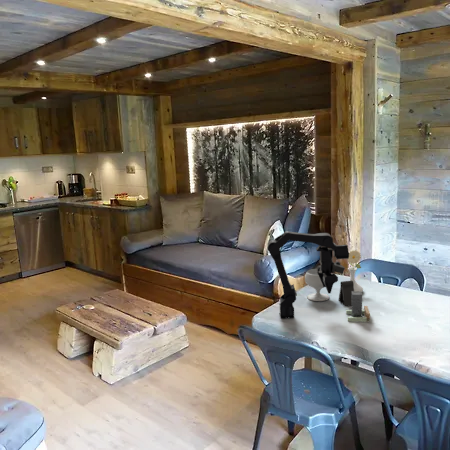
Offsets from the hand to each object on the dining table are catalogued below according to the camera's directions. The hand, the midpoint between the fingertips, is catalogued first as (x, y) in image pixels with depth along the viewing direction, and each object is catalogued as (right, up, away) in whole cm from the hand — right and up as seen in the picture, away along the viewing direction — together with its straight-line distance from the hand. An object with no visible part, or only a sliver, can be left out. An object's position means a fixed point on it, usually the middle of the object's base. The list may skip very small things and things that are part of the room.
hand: (327, 290), depth 212 cm
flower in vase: (+22, -6, +31) cm, 39 cm away
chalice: (+1, -8, +26) cm, 27 cm away
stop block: (+14, -13, -2) cm, 19 cm away
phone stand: (+14, -10, +16) cm, 24 cm away
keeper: (+14, -13, -2) cm, 19 cm away
